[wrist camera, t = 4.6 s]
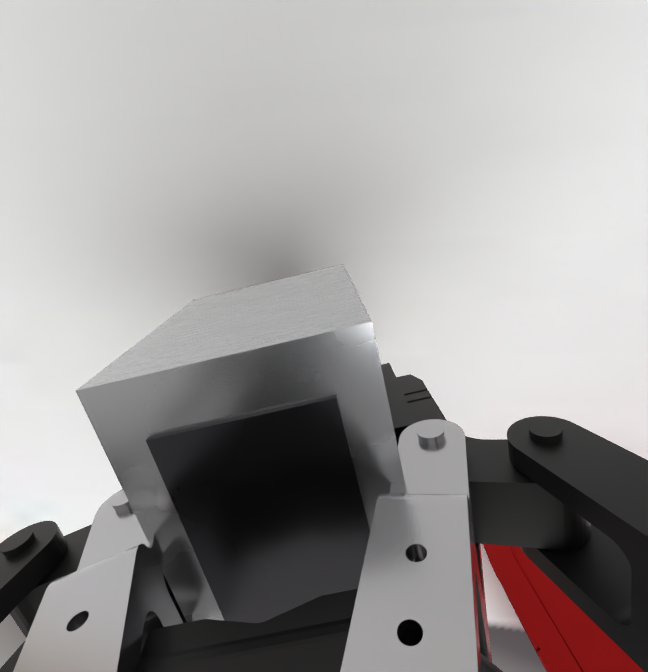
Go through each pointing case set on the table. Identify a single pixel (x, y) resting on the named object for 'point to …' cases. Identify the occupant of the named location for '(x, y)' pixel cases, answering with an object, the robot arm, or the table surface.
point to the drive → (253, 443)
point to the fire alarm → (554, 618)
